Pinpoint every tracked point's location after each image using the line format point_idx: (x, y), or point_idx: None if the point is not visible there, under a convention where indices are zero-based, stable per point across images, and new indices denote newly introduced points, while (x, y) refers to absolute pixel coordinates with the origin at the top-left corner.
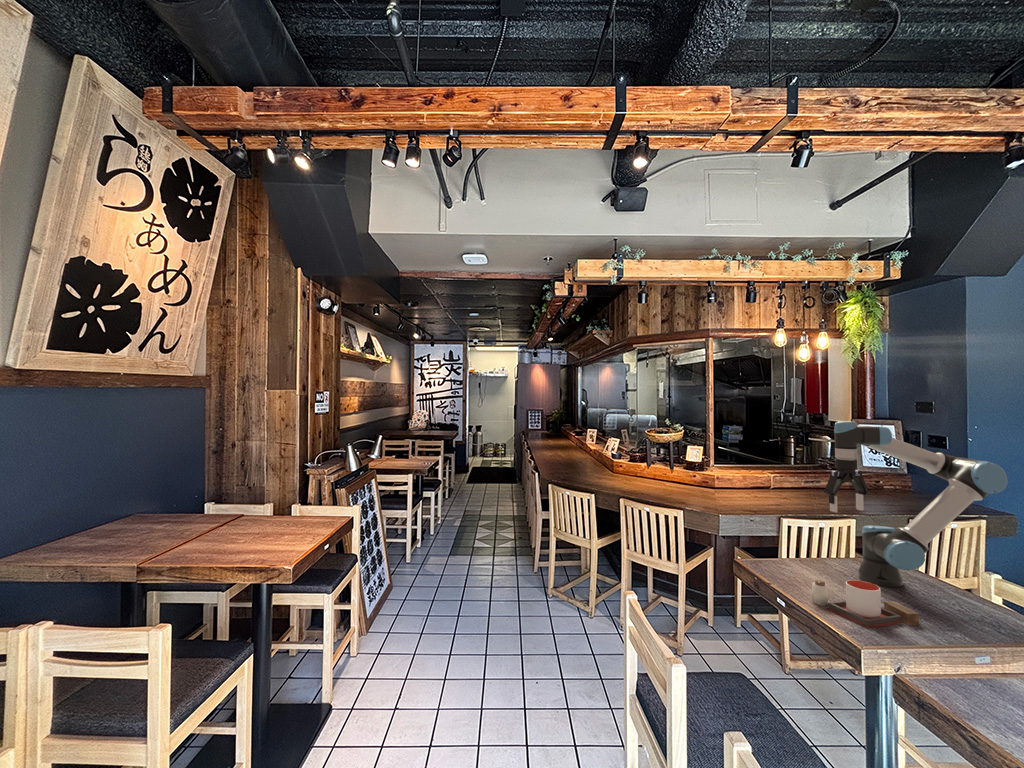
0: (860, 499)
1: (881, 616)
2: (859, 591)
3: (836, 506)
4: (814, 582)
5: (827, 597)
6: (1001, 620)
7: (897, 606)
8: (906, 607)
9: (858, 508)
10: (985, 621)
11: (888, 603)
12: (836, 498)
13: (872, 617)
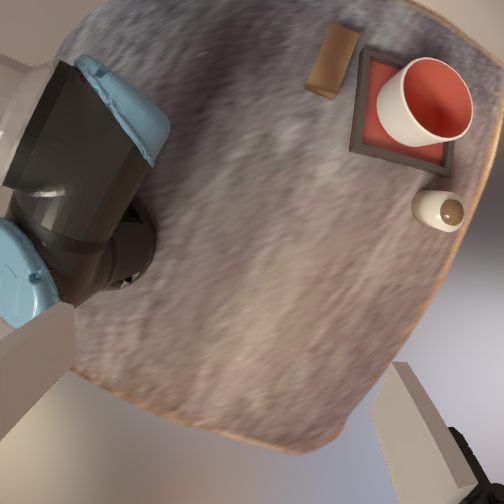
0: (9, 372)
1: (381, 83)
2: (466, 93)
3: (421, 397)
4: (449, 228)
5: (433, 190)
6: (127, 4)
7: (337, 62)
8: (321, 49)
9: (70, 344)
10: (161, 4)
11: (340, 80)
12: (457, 462)
13: (420, 86)
